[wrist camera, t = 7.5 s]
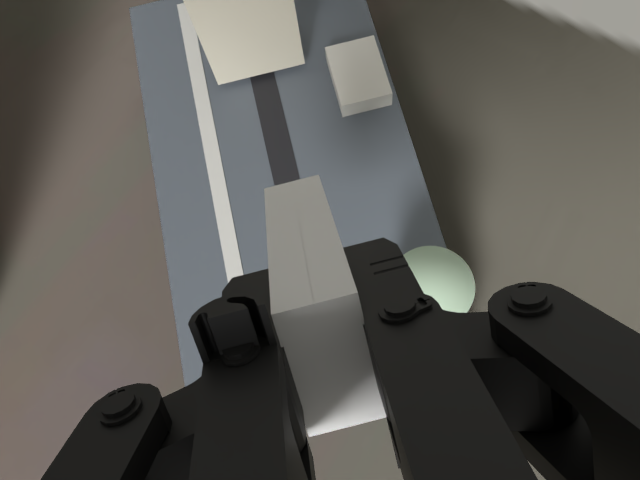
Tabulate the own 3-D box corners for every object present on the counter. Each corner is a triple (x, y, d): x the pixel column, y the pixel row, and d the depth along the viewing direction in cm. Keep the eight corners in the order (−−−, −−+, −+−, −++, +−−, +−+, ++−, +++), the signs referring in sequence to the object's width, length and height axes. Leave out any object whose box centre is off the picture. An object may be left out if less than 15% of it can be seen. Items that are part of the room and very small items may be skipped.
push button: (474, 332, 20) (486, 316, 18) (398, 350, 20) (401, 337, 18) (450, 260, 21) (459, 236, 19) (378, 278, 21) (379, 256, 19)
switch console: (464, 370, 24) (485, 349, 19) (219, 430, 24) (183, 424, 19) (353, 16, 30) (350, -62, 26) (159, 63, 30) (122, -6, 26)
